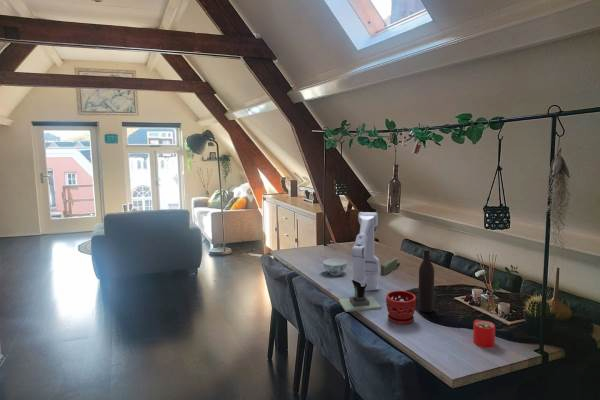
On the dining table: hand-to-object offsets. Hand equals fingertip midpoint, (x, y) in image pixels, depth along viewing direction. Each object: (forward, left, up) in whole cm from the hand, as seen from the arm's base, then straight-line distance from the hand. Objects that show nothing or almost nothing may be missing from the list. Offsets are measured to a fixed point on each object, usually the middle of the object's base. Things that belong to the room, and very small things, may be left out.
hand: (359, 295), depth 209 cm
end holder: (0, 0, -5) cm, 5 cm away
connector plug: (0, 0, -2) cm, 2 cm away
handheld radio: (-51, +36, -5) cm, 63 cm away
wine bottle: (+14, +29, -5) cm, 33 cm away
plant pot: (+22, +13, -5) cm, 26 cm away
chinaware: (-52, 0, -5) cm, 52 cm away
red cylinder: (+47, +37, -5) cm, 60 cm away
